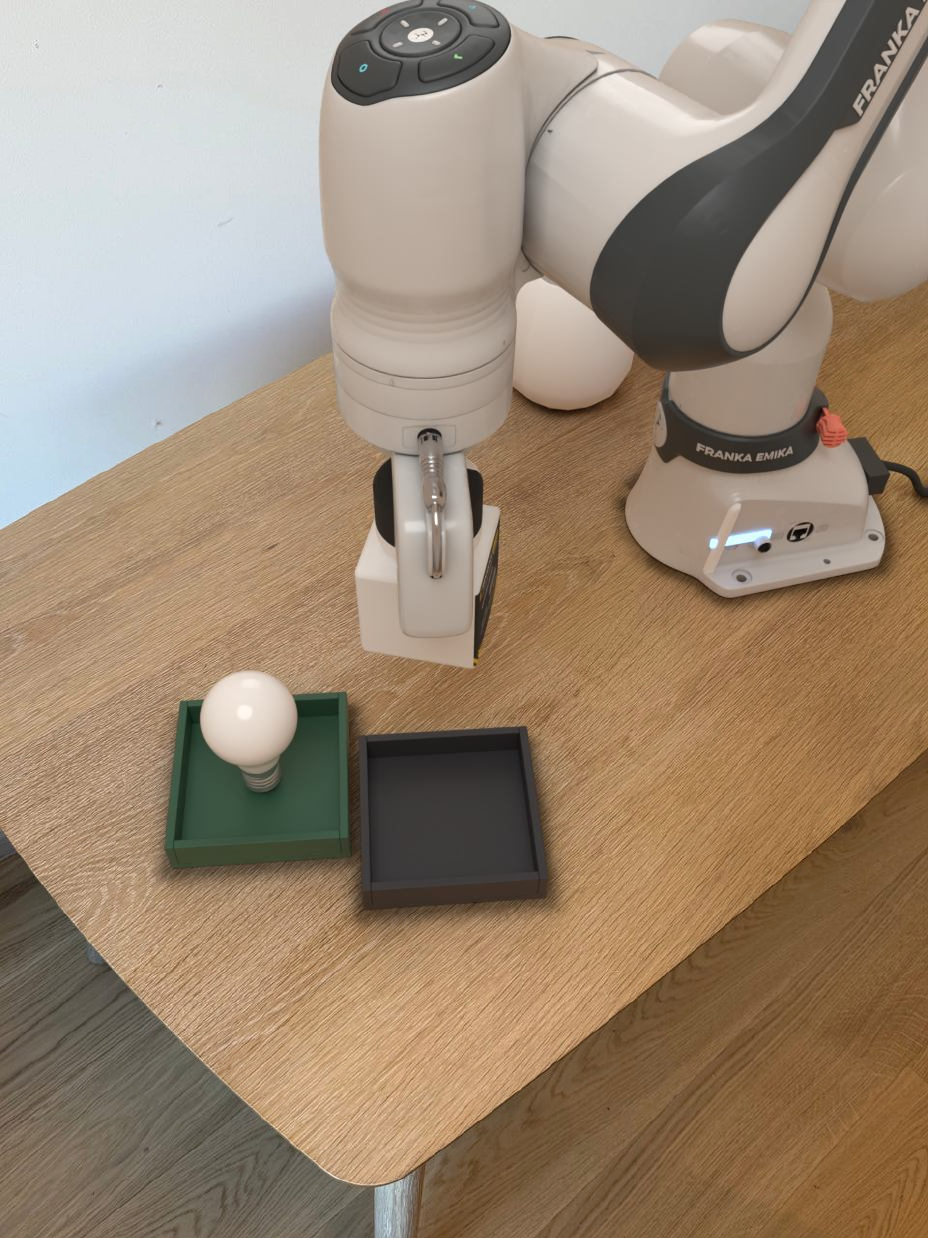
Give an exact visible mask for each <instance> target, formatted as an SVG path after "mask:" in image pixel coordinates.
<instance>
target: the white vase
mask: <svg viewBox="0 0 928 1238" xmlns="http://www.w3.org/2000/svg"><path fill="white" fill-rule="evenodd" d="M516 310H517V330H516V346H515V361H514V374H513V388H514V389H515V390H517V391H518V392H519V393H520V394H522V396H524V397H525V398H527V399H528V400H529V401H532V403H535V404H538V405H540V406H543V407H546V408H548V409H553V410H554V409H555V410H562V411H563V410H564V411H572V410H578V409H585V408H588V407H591V406H593V405H595V404H598V403H600V402H602V401H605V400H606V399H608V398H611V397H612V396H613V394H614V393H615V392H616V391H617V389H618V388H619V387H620V386H621V384H622V383H623V382H624V380H625V378H626V377H627V376H628V374H629V372H630V371H631V369H632V366H633V360H634V356H635V353H634V352H633V351H632V350H631V349H630V348H629V347H628V346H627V345H626V344H625V343H624V342H623V341H621V340H620V339H619V338H618V337H617V336H616V335H615V334H614V333H613V332H612V331H611V330H610V329H609V328H608V327H607V326H606V325H604V324H603V323H602V322H601V321H600V320H599V319H598V318H597V316H596V314H595V313H594V312H593V311H592V310H590V309H589V308H588V307H586V306H585V305H583V304H582V303H581V302H579V301H578V300H577V299H575V298H574V297H573V296H571V295H570V294H569V293H567V292H566V291H565V290H563V289H562V288H560V287H559V286H558V285H556V284H555V283H554V282H552V281H551V280H550V279H548V278H547V277H546V276H544V277H542V278H539V279H536V280H533V281H530V282H528V283H526V284H525V285H524V286H523V287H522V288H521V289H520V290H519V292H518V295H517V299H516Z"/></svg>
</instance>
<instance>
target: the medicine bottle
mask: <svg viewBox="0 0 928 1238" xmlns="http://www.w3.org/2000/svg"><path fill="white" fill-rule="evenodd" d="M465 458H466V466H467V475H468V483H469V492H470V500H471V509H472V520H473V541H474V581H473V620H472V625H471V628H470V629H469V631H467V632H466V633H464V634H462V635H458V636H452V637H442V638H414V637H409V636H406V635H405V634H404V633H403V632H402V630H401V628H400V624H399V614H398V595H397V575H396V556H395V537H394V505H393V483H392V464H391V458H390V457H388V459H387V460H385V462H382V463H383V464H381V465H380V466H379V467H378V469H377V470H376V472H375V474H374V477H373V480H372V495H373V496H372V497H373V509H374V511H373V512H374V518H373V520H372V524H371V525H370V526H371V527H370V528H369V532H368V534H367V537H366V540H365V542H364V545H363V548H362V551H361V554H360V556H359V558H358V561H357V564H356V567H355V570H354V585H355V593H356V603H357V604H356V605H357V615H358V624H359V634H360V642H361V643H360V645H361V648H362V650H363V651H364V652H367V653H374V654H379V655H386V656H391V657H395V658H403V659H409V660H415V661H420V662H426V663H433V664H438V665H444V666H451V667H456V668H463V669H468V670H473V669H475V668H477V666H478V663H479V660H480V655H481V651H482V647H483V643H484V639H485V635H486V632H487V627H488V625H489V624H488V623H489V619H490V615H491V611H492V608H493V603H494V599H495V596H496V591H497V587H498V572H499V571H498V569H499V552H500V551H499V550H500V547H499V546H500V529H501V528H500V527H501V510H500V508H499V507H498V506H495V505H489V504H488V505H487V504H484V478H483V475H482V473H481V471H480V469H479V468H478V467H477V465H476V464H475V463H473V461H471V460H470V459H469V458H467V457H466V456H465Z"/></svg>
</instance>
